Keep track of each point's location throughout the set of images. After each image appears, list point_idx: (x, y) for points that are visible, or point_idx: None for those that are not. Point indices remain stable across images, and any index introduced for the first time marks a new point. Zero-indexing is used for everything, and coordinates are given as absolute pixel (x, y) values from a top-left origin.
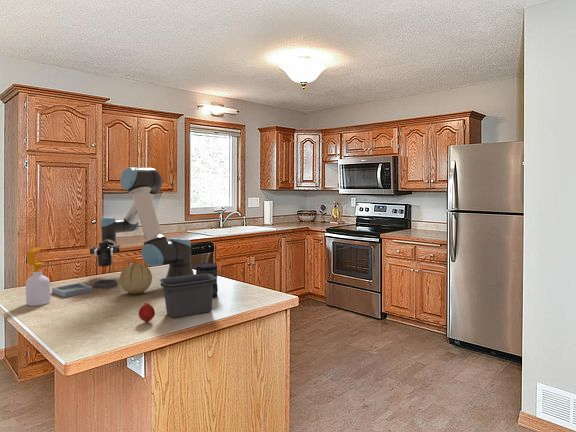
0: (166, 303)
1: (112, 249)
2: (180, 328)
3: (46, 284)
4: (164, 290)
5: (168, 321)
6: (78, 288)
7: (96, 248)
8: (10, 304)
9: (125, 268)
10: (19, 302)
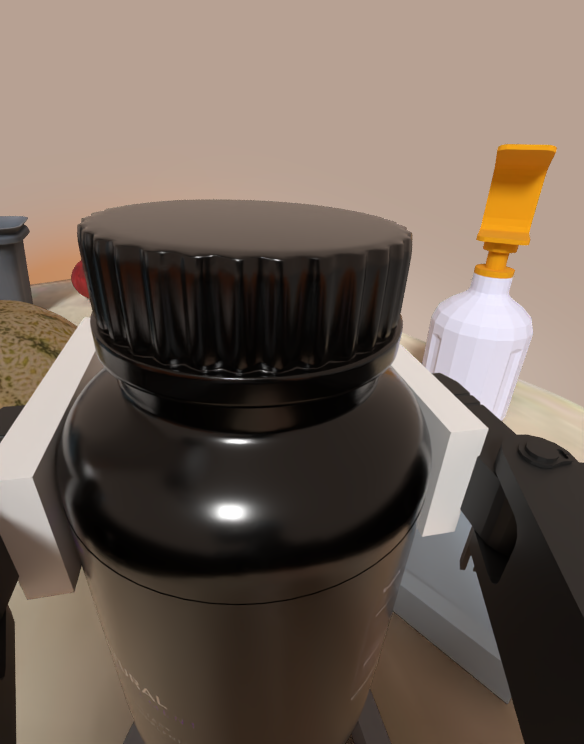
0: (23, 290)
1: (65, 350)
2: (43, 285)
3: (430, 324)
4: (17, 254)
5: (48, 300)
6: (440, 583)
7: None
8: (561, 406)
9: (60, 318)
10: (555, 421)
